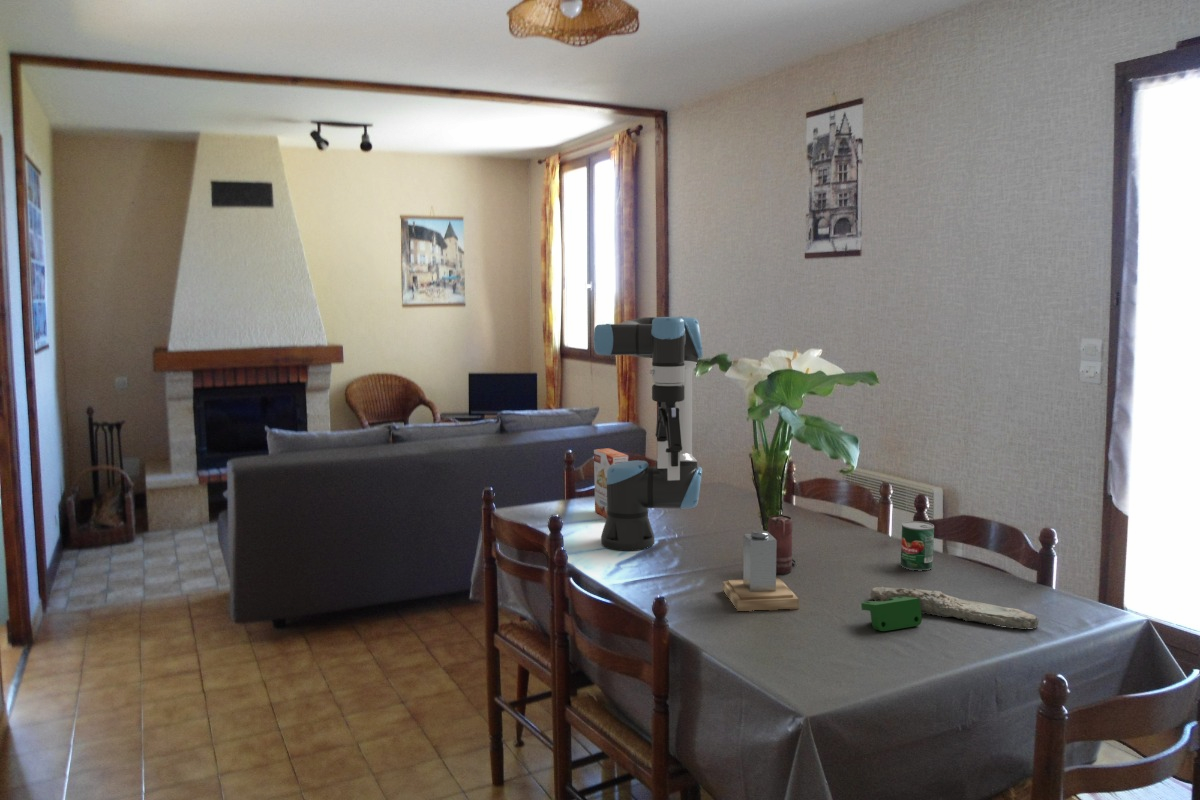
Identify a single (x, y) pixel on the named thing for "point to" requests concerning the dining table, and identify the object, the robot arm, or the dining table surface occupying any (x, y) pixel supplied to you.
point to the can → (782, 541)
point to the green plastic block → (894, 613)
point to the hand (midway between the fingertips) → (668, 474)
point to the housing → (759, 561)
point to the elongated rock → (959, 607)
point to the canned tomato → (917, 545)
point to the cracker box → (604, 475)
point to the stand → (760, 597)
